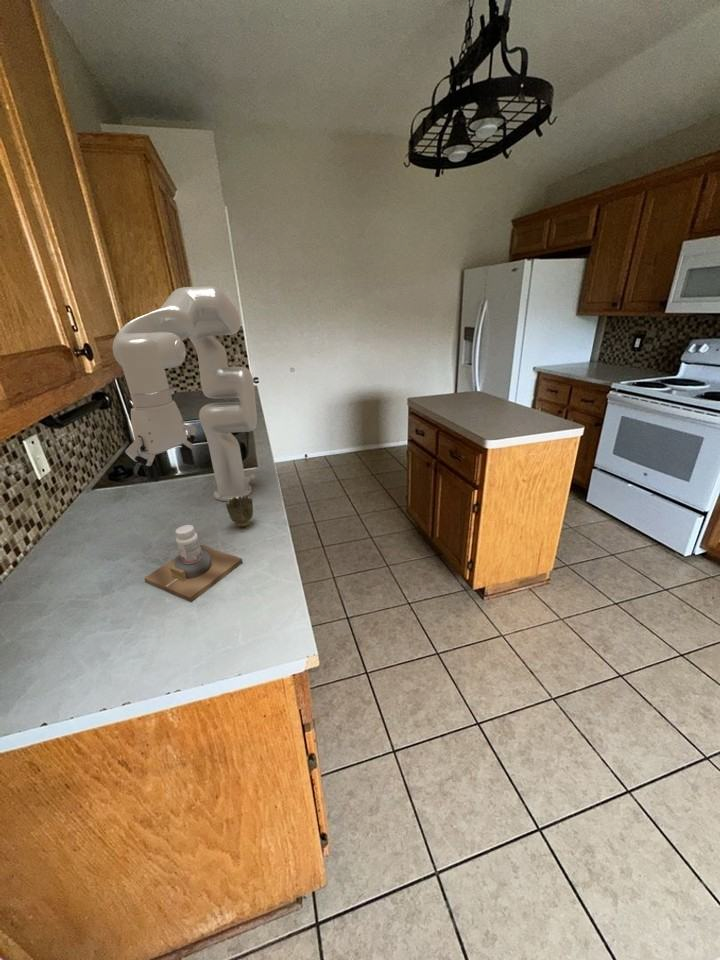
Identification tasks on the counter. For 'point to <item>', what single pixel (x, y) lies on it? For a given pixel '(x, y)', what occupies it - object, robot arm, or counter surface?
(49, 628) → the counter surface
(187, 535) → the pill bottle
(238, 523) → the dark rounded piece
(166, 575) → the board
